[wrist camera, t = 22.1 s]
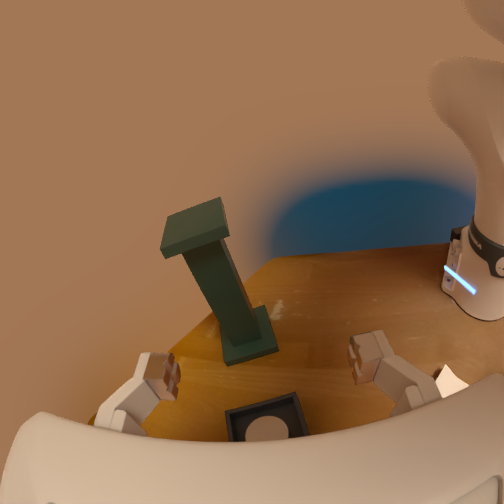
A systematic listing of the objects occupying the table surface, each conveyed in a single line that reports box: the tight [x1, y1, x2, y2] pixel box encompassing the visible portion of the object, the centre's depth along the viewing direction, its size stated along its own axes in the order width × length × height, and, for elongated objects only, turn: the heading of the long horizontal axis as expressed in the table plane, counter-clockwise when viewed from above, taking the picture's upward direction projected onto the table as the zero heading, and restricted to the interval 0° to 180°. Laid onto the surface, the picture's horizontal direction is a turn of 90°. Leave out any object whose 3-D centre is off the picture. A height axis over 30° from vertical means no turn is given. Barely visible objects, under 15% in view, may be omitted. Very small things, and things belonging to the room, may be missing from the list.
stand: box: [160, 197, 279, 366], centre depth 40 cm, size 10×9×24 cm
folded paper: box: [435, 364, 469, 398], centre depth 22 cm, size 12×12×2 cm
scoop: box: [245, 416, 292, 442], centre depth 24 cm, size 19×6×2 cm, turn 10°
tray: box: [225, 392, 310, 442], centre depth 24 cm, size 22×10×3 cm, turn 10°
